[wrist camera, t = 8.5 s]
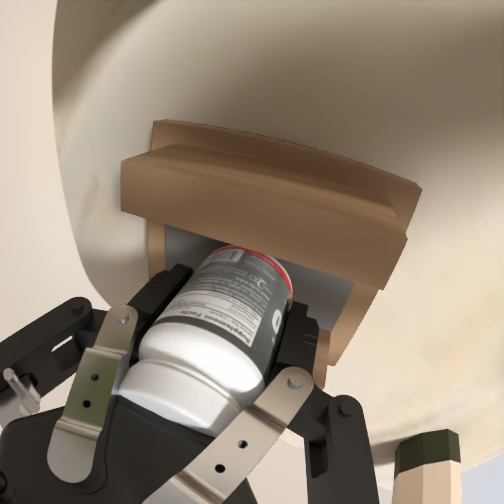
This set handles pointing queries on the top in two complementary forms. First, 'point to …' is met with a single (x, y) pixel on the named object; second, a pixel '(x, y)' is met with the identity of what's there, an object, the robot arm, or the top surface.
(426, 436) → the wine bottle
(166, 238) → the cradle
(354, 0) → the top surface
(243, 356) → the pill bottle
